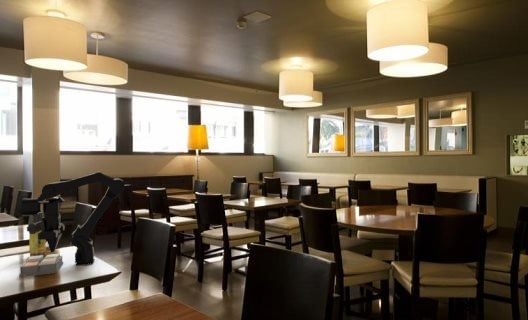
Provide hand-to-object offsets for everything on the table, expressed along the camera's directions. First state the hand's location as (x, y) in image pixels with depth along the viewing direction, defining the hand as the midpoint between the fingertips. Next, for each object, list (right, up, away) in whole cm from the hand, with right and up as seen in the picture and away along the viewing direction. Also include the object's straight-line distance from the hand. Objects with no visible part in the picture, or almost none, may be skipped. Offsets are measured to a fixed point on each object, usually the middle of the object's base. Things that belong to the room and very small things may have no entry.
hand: (52, 252), depth 150 cm
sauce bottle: (-16, -6, +17) cm, 24 cm away
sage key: (0, -3, 0) cm, 3 cm away
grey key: (-6, -4, -2) cm, 7 cm away
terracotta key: (-4, -5, -8) cm, 10 cm away
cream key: (+2, -4, -6) cm, 7 cm away
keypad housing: (-2, -6, -4) cm, 7 cm away
